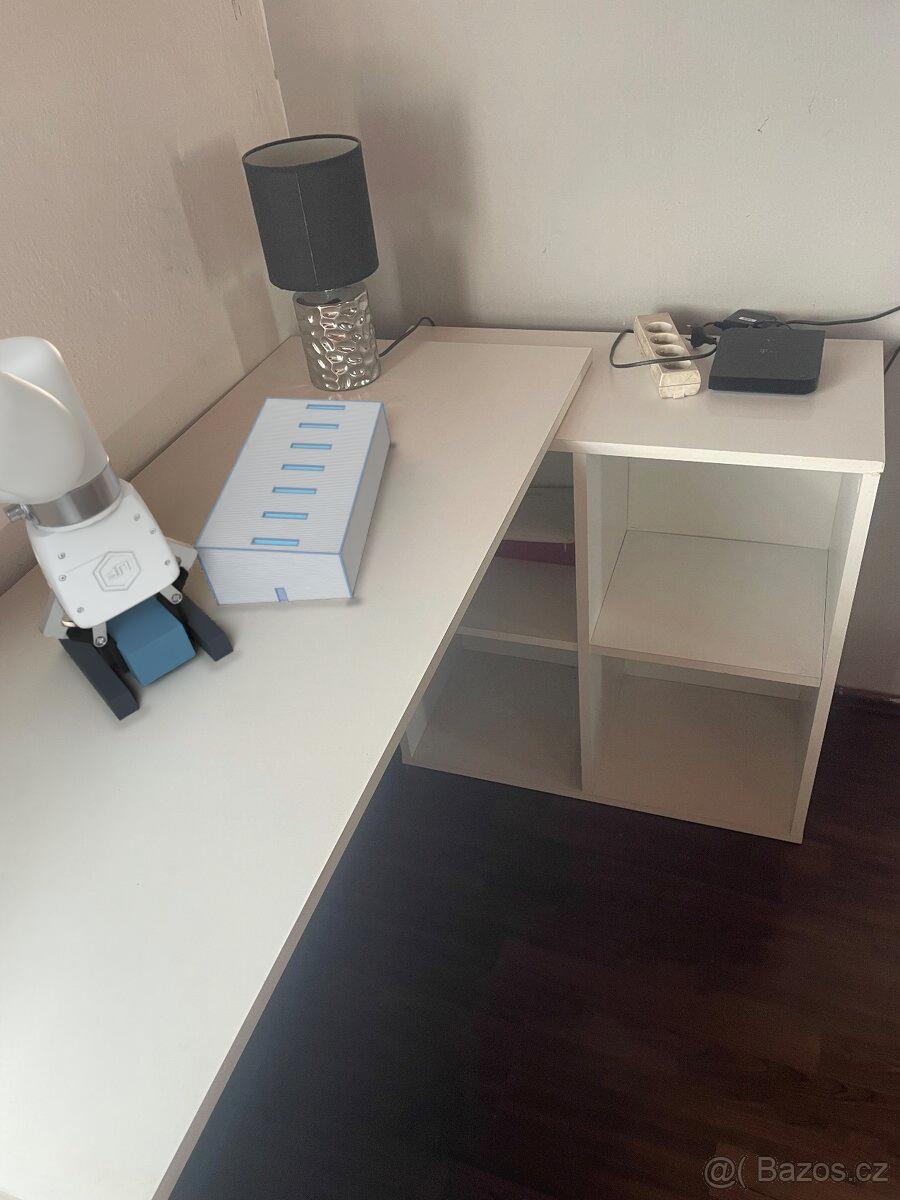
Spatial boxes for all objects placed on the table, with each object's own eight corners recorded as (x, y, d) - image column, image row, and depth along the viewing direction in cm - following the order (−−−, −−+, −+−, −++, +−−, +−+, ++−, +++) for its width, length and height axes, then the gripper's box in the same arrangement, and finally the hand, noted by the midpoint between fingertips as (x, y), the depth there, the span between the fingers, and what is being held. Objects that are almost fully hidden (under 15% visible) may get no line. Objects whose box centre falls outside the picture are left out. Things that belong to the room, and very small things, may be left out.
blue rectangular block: (143, 687, 79) (126, 657, 77) (110, 648, 84) (93, 618, 82) (196, 655, 82) (182, 624, 79) (161, 619, 87) (147, 589, 84)
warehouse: (352, 598, 87) (336, 538, 82) (217, 605, 89) (193, 547, 84) (391, 441, 109) (380, 387, 104) (282, 450, 112) (266, 397, 107)
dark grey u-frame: (119, 721, 78) (108, 702, 77) (64, 648, 87) (53, 630, 86) (233, 651, 84) (225, 632, 82) (169, 589, 92) (161, 571, 91)
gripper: (-18, 560, 65) (82, 719, 77) (184, 460, 72) (247, 619, 84) (-46, 522, 70) (52, 677, 81) (146, 432, 77) (210, 586, 89)
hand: (150, 646), depth 83 cm, fingers closed on blue rectangular block, 5 cm apart
